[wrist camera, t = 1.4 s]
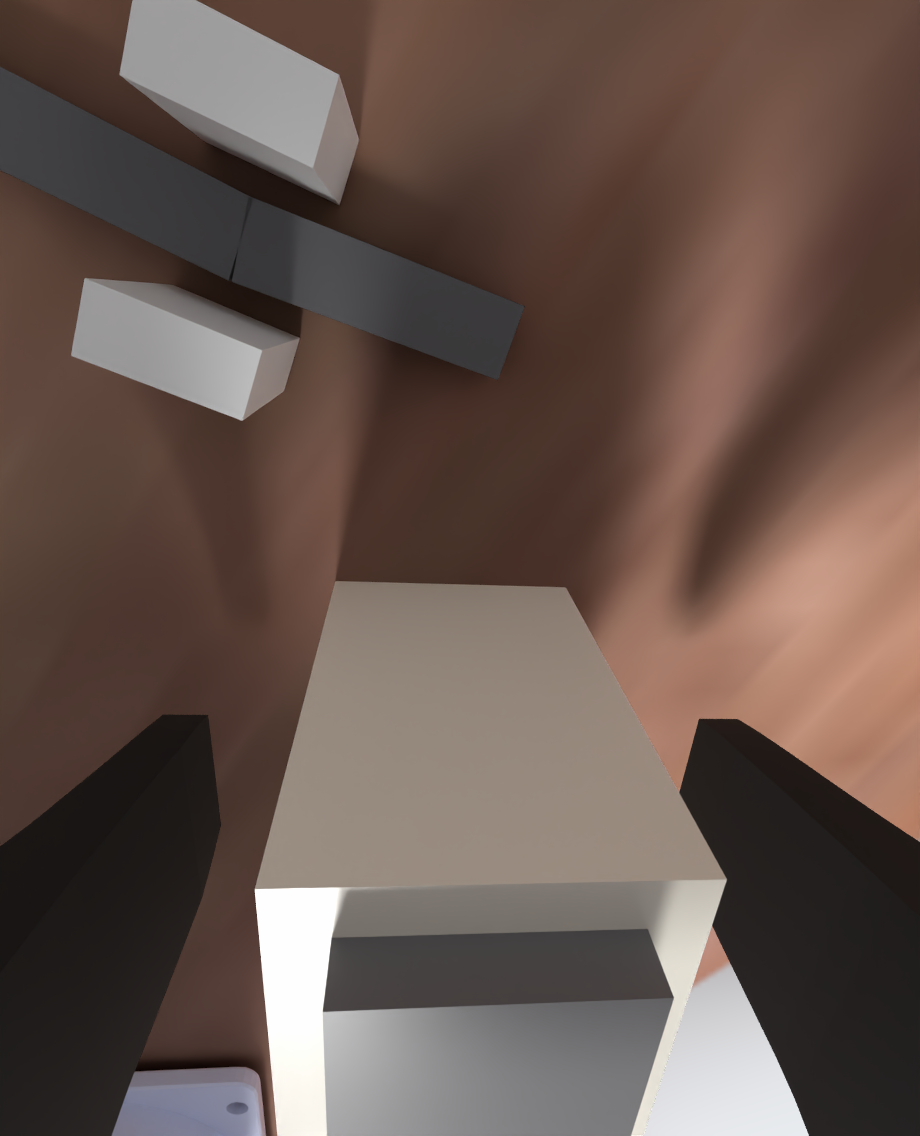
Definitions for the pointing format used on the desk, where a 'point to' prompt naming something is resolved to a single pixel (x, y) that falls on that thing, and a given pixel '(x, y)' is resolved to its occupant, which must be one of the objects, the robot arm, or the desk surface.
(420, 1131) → the block
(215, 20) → the clips
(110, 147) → the cable
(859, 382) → the desk surface
